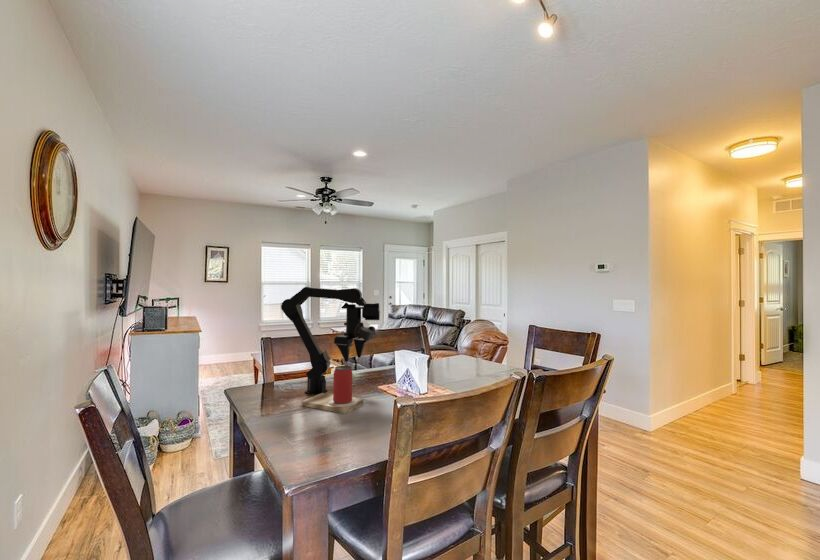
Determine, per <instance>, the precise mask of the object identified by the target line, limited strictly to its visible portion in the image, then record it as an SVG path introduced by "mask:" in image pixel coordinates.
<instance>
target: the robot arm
mask: <svg viewBox="0 0 820 560" xmlns="http://www.w3.org/2000/svg"><path fill="white" fill-rule="evenodd" d="M309 298H319V299H321V298H322V299H334V300H338V301H343V302H345V303H344V304H343V305H342V306H341V307H340V308H341V310H342V309H344V310H346V315H345V316H346V319H345V320H346V321H345V322H344V323H343V326H346V327H345V332H344V333H343V334H342V335H341V334H340V335H336V336H335V337H334V338H333V344H335V346H337V348H338V350H339V351H340V353H341V355H342V358H343V360H344V362H345V363H347V362H349V357H350V348H351V347H352V346H353V345H354V347H355V351H356V355H357V358H361V357H362V354H363V350H364V348H365V345H366V344H367V343H368V342H369V341H370V340H373V338H374V336H375V335H376V327H375V326H373V325H372V326H369V327H365V326H364V322H362V319H364V320H365V321H380V320H381V319H380V318H381V310H380V303H379V302H375V303H367V302H366V301H365V299H364V298H363V293H362V291H361V290H360V289H359V288H356V287H355V288H354V287H353V288H345V289H344V288H343V289H335V288H333V289H332V288H319V287H311V286H304V287H303V288H301V290H299V291H298V292H297V293H296V294H294V295H293V296H291V297H290V298H287V299H284V300H283V301H282V302H281V305H280V309H281V311H282V312H283V313H284V315H285V316H286V317H287V318H288V319H289V320H290V321H291V322H292V323H293V325H294V327H295V329H296V331H297V333H298V334H299V337H300V338H301V339H300V340H301V341H302V342H303V344H304V345H303V346H304V347H305V349H306V350H307V352H308V355H309V361H310V364H311V369H309V371H307V372H306V376H307V385H306V386H307V387H306V390H305V391H304V393H305V394H311V395H318V394H320V393H326V392H327V391H328V389H327V380H326V375H325V373H326V372H327V371H328V369H330V367H331V359H332V358H331V357H330V356H329V354H328V352H327V350H324V351H323V350H321V349H320V347H319V344H318V343H317V341H316V340H315V337H314V335H313V333H312V331H311V330H310V328H309V325H308V324H307V322H306V320H305V318H304V313H303V309H302V305H303V304H304V303H305V302H306V301H307V300H308V299H309ZM352 343H354V344H352Z"/></svg>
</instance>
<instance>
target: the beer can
mask: <svg viewBox="0 0 820 560" xmlns="http://www.w3.org/2000/svg"><path fill="white" fill-rule="evenodd" d="M332 390H333V392H332V394H333V401H334V402H335V403H337V404H347V403H350V402H351V401H352V397H353V371H352V366H349V365H337V366H335V368H334V372H333V389H332Z"/></svg>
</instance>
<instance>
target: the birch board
mask: <svg viewBox="0 0 820 560" xmlns="http://www.w3.org/2000/svg"><path fill="white" fill-rule="evenodd" d="M363 404H364V398H359V397H354V396H352V401H351V402H350V403H347V404H337V403H335V402H334V401H333V393H326V392H323V393H320V394H315V395H313V396H311V397H309V398H306V399H304V400H301V406H303V407H306V408H307V407H308V408H314V409H318V410H324V411H330V412H335V413H340V414H341V413H342V414H347V413H349V412H350V411H352V410H354V409H356V408H358V407H359V406H361V405H363Z"/></svg>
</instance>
